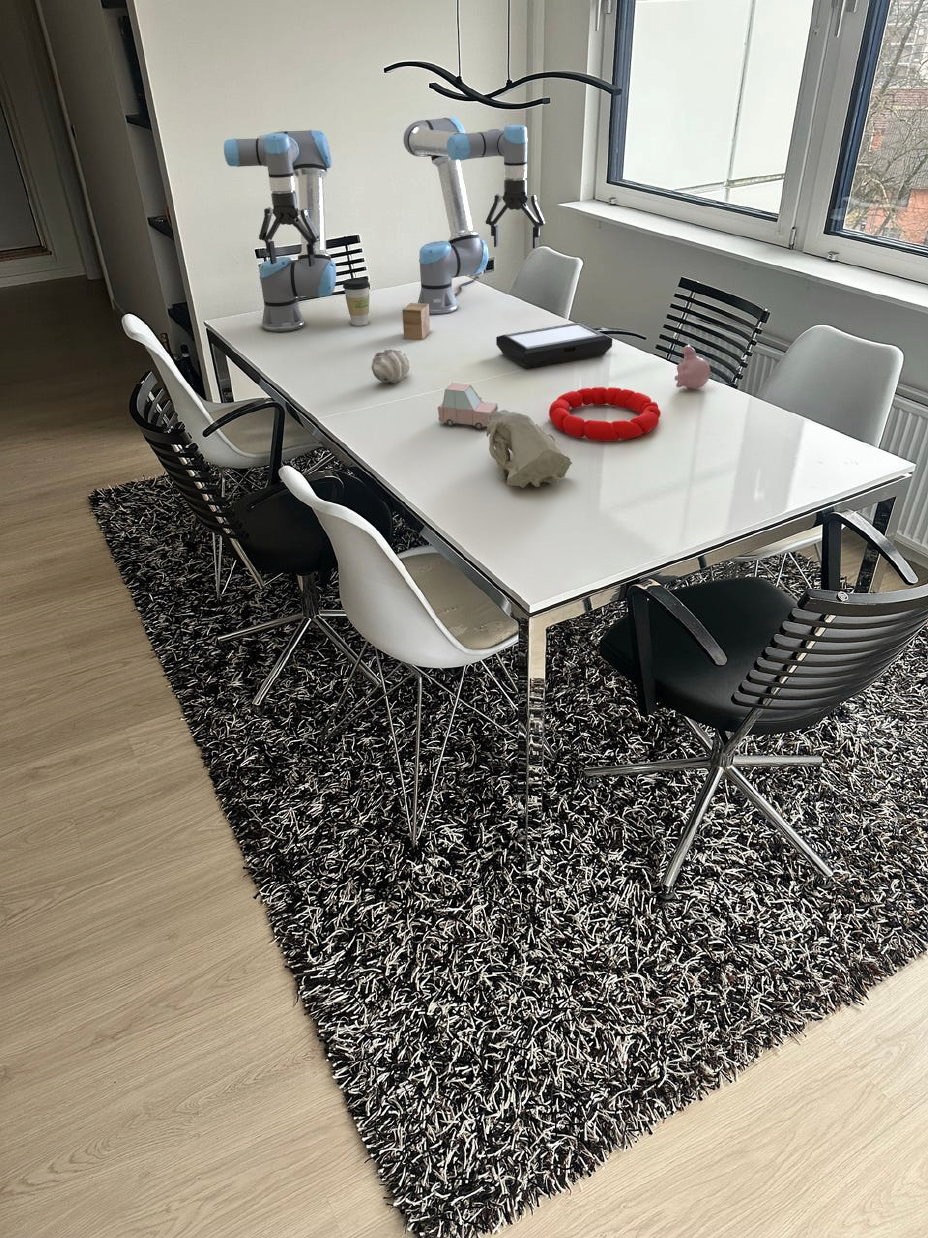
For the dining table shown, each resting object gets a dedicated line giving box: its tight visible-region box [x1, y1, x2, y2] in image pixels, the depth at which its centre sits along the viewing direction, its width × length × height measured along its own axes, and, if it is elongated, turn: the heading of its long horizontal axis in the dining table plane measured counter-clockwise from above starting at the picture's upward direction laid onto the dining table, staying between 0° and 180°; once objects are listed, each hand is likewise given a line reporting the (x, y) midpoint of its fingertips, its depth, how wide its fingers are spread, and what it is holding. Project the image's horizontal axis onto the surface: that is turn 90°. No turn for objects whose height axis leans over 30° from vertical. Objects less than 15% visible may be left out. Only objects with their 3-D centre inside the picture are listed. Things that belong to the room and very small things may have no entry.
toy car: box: [437, 382, 499, 431], centre depth 243 cm, size 9×15×10 cm, turn 70°
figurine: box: [674, 344, 711, 390], centre depth 259 cm, size 9×11×12 cm
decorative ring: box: [548, 386, 661, 442], centre depth 242 cm, size 7×30×30 cm
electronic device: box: [495, 322, 613, 370], centre depth 290 cm, size 32×6×20 cm
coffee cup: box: [342, 277, 371, 327], centre depth 323 cm, size 10×10×15 cm
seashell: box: [371, 349, 411, 384], centre depth 271 cm, size 10×15×10 cm
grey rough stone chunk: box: [485, 409, 573, 489], centre depth 216 cm, size 17×25×20 cm
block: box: [401, 302, 431, 341], centre depth 311 cm, size 9×7×10 cm
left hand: (292, 264), depth 283 cm, fingers open, 13 cm apart
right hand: (515, 246), depth 306 cm, fingers open, 13 cm apart
